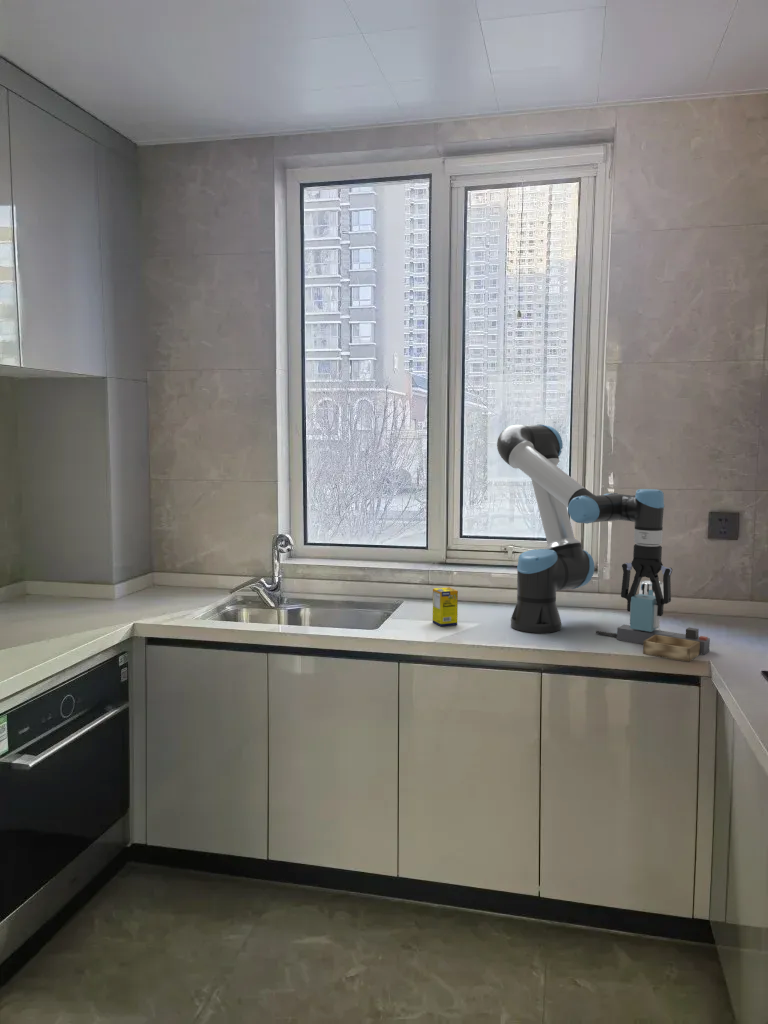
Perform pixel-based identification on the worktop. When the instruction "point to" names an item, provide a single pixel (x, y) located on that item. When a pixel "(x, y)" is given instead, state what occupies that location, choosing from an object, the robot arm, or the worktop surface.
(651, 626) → the block
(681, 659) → the tray
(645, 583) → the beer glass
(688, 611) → the worktop surface
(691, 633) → the power strip
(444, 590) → the supplement box
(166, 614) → the worktop surface
